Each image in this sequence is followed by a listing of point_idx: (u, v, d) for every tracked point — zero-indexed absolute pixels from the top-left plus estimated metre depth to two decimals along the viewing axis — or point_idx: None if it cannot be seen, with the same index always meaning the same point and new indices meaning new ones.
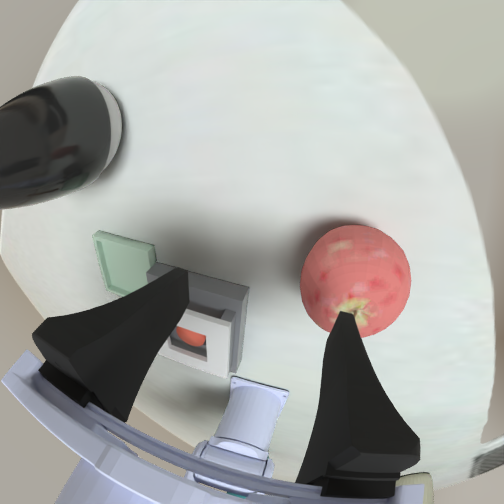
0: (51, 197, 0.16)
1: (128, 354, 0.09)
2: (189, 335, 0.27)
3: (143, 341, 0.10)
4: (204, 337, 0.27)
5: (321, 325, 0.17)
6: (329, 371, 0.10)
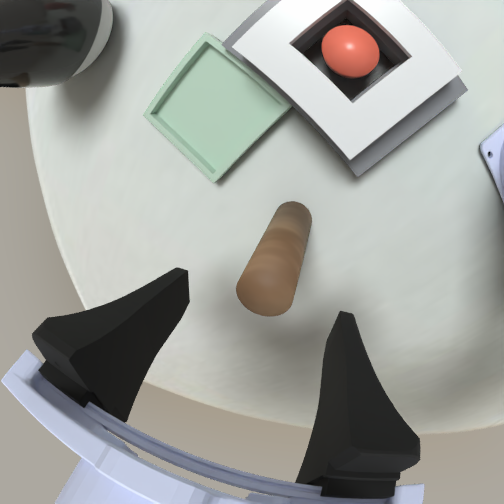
0: (49, 21, 0.08)
1: (128, 354, 0.09)
2: (349, 49, 0.11)
3: (143, 341, 0.10)
4: (365, 32, 0.10)
5: None
6: (329, 371, 0.10)
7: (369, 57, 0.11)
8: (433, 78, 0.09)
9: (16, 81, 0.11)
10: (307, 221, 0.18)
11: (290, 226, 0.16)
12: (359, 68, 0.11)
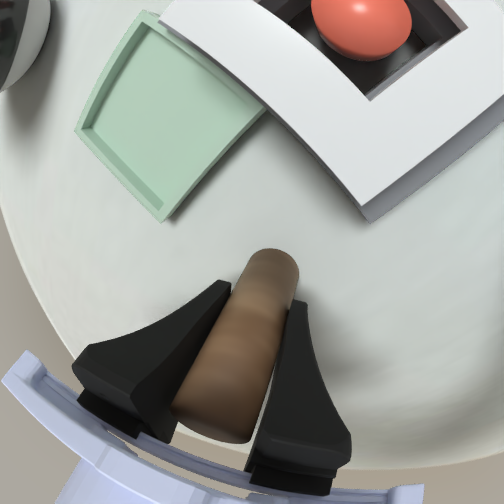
0: None
1: (178, 376, 0.08)
2: (360, 10, 0.05)
3: (191, 360, 0.09)
4: None
5: None
6: (278, 359, 0.10)
7: (395, 24, 0.05)
8: (501, 69, 0.04)
9: None
10: (290, 282, 0.13)
11: (261, 302, 0.11)
12: (379, 41, 0.06)
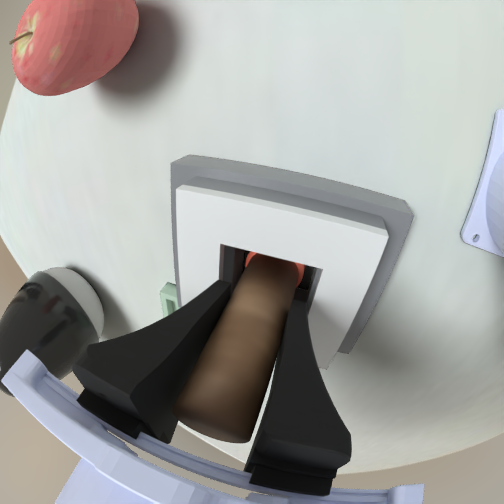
0: (49, 342, 0.17)
1: (178, 376, 0.08)
2: None
3: (191, 360, 0.09)
4: None
5: (48, 53, 0.07)
6: (278, 359, 0.10)
7: None
8: (358, 274, 0.11)
9: (64, 376, 0.20)
10: (289, 283, 0.13)
11: (258, 304, 0.11)
12: None
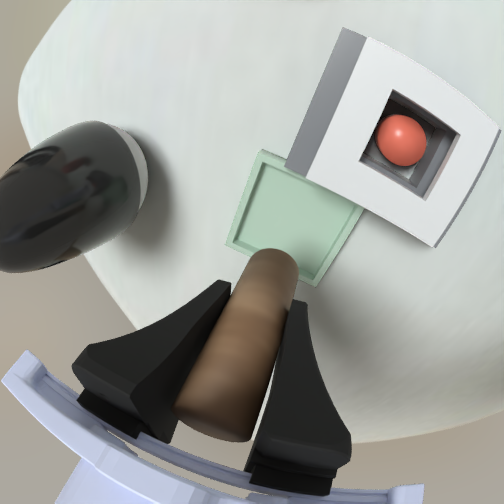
0: (87, 190, 0.14)
1: (178, 376, 0.08)
2: (402, 141, 0.14)
3: (191, 360, 0.09)
4: (408, 117, 0.13)
5: None
6: (278, 359, 0.10)
7: (419, 142, 0.13)
8: (480, 148, 0.10)
9: (79, 254, 0.17)
10: (290, 282, 0.13)
11: (260, 303, 0.11)
12: (414, 156, 0.14)
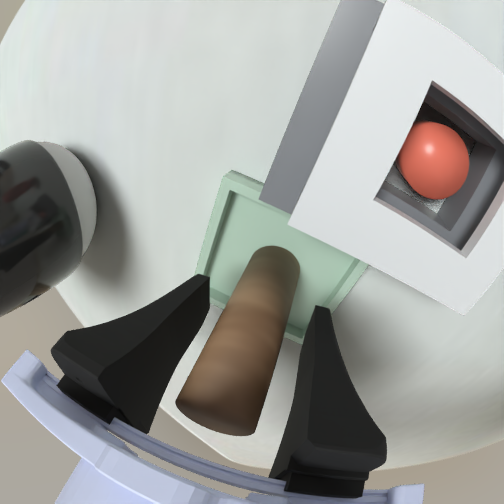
0: (7, 238, 0.09)
1: (153, 366, 0.09)
2: (436, 162, 0.09)
3: (167, 351, 0.10)
4: (446, 126, 0.08)
5: None
6: (303, 365, 0.10)
7: (459, 164, 0.08)
8: None
9: (18, 307, 0.11)
10: (292, 278, 0.13)
11: (263, 297, 0.11)
12: (451, 185, 0.09)
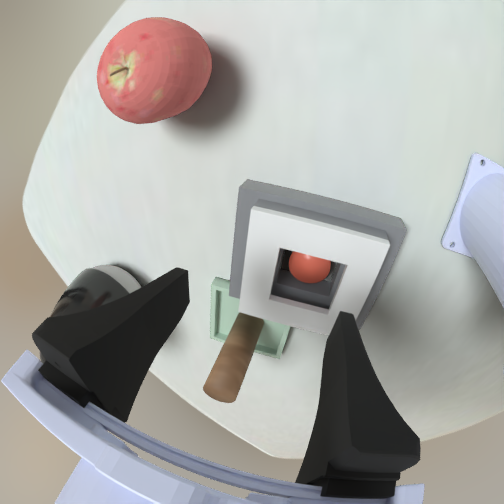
0: None
1: (128, 354, 0.09)
2: (308, 266, 0.21)
3: (143, 341, 0.10)
4: None
5: (151, 93, 0.12)
6: (329, 371, 0.10)
7: (323, 264, 0.20)
8: (370, 268, 0.17)
9: None
10: (255, 327, 0.25)
11: (238, 340, 0.23)
12: (321, 274, 0.21)
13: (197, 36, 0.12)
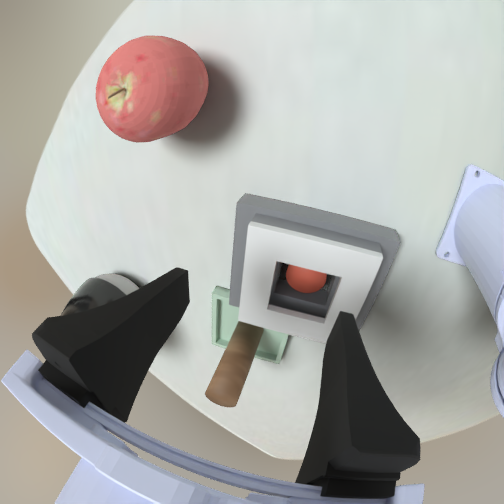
0: None
1: (128, 354, 0.09)
2: (305, 277, 0.21)
3: (143, 341, 0.10)
4: None
5: (149, 115, 0.13)
6: (329, 371, 0.10)
7: (319, 275, 0.21)
8: (364, 280, 0.17)
9: None
10: (255, 334, 0.26)
11: (238, 347, 0.24)
12: (318, 284, 0.21)
13: (193, 55, 0.13)
